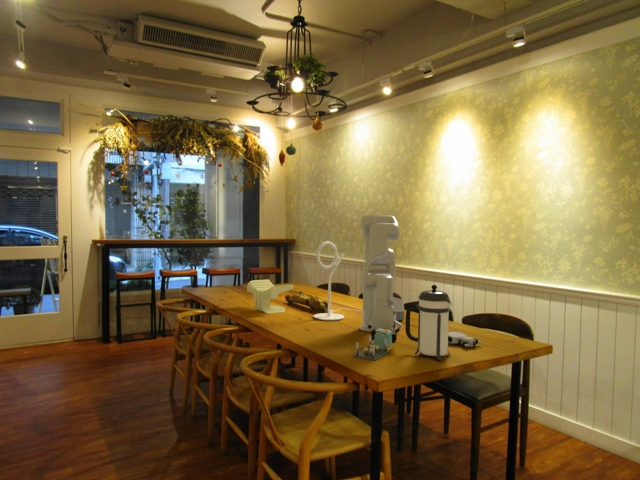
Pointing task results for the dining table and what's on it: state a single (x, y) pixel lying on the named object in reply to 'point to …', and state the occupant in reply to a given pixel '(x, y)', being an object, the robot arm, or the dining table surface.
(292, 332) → the dining table surface
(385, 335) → the teal block
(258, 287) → the slatted curved stool
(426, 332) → the coffee press
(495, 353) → the dining table surface
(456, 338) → the robot toy
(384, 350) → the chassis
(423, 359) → the dining table surface
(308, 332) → the dining table surface
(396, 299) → the smart speaker
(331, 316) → the desk lamp
